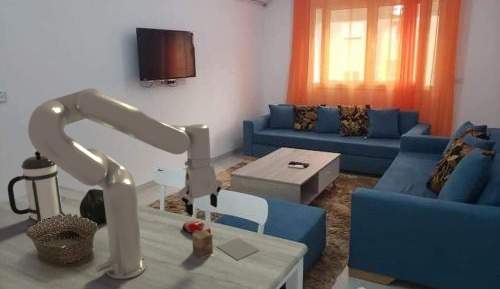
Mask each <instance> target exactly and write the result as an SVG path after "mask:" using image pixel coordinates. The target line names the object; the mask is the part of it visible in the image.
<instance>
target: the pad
mask: <svg viewBox="0 0 500 289" xmlns="http://www.w3.org/2000/svg"><path fill="white" fill-rule="evenodd" d="M216 248H218V249H219V250H220V251H223V252H224V253H225V254H227V255H228V256H230V257H231V258H233V259H234V260H236V261H239V260H242V259H244V258H247V257H248V256H251V255H253V254H256V253H257V252H259V251H260V249H258V248H257V247H255V246H253V244H250V243H249V242H247V241H245V240H243V239H241V238H240V237H237V238H234V239H231V240H230V241H227V242H224V243H221V244H219V245H217V246H216Z"/></svg>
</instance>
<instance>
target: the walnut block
mask: <svg viewBox="0 0 500 289" xmlns="http://www.w3.org/2000/svg"><path fill="white" fill-rule="evenodd" d="M191 238H192V239H191V241H192V250H193V251H192V253H193V254H194V255H196V256H197V257H199V258H200V259H203V258H205V257H204V256H206V257H207V255H208V256H210V255H209V254H211V253H212V254H213V253H214V251H213V246H214V245H213V234H212V233H211V234H210V233H209V232H207V231H205V230H202V231H199V232H196V233H194V234H192V233H191ZM202 257H203V258H202Z"/></svg>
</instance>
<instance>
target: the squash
mask: <svg viewBox="0 0 500 289" xmlns="http://www.w3.org/2000/svg"><path fill="white" fill-rule="evenodd" d="M79 204H80V205H79V214H80V217H81V216H82V217H83V218H88V219H89V220H92V221H93V222H96V223H95V224H96V225H97V224H102V222H104V223H107V222H106V212H105V205H104V197H103V189H97V188H91V189H88V191H87V192H86V194H85V195H84V196H83V198H82V199H81V201H80V203H79ZM82 217H81V218H82Z"/></svg>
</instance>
